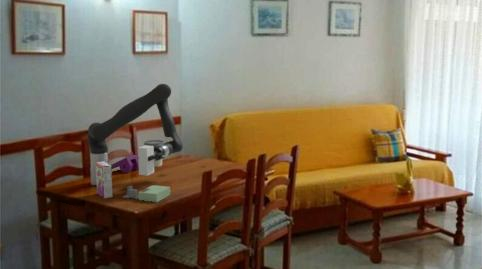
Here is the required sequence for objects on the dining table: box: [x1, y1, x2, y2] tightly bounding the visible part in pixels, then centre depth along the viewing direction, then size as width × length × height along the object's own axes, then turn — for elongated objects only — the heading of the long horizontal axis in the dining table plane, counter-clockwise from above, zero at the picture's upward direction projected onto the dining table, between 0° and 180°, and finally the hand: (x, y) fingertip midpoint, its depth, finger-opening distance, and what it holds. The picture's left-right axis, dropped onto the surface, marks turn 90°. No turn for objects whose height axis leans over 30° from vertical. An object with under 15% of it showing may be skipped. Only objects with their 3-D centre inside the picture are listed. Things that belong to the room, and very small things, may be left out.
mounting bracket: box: [110, 154, 139, 174], centre depth 326 cm, size 9×8×18 cm
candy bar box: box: [95, 162, 114, 199], centre depth 271 cm, size 11×5×16 cm, turn 33°
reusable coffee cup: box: [143, 139, 165, 168], centre depth 338 cm, size 13×12×15 cm
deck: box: [122, 184, 171, 203], centre depth 270 cm, size 14×19×4 cm
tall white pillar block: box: [137, 145, 155, 176], centre depth 277 cm, size 7×5×14 cm
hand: (143, 158), depth 274 cm, fingers closed on tall white pillar block, 5 cm apart
